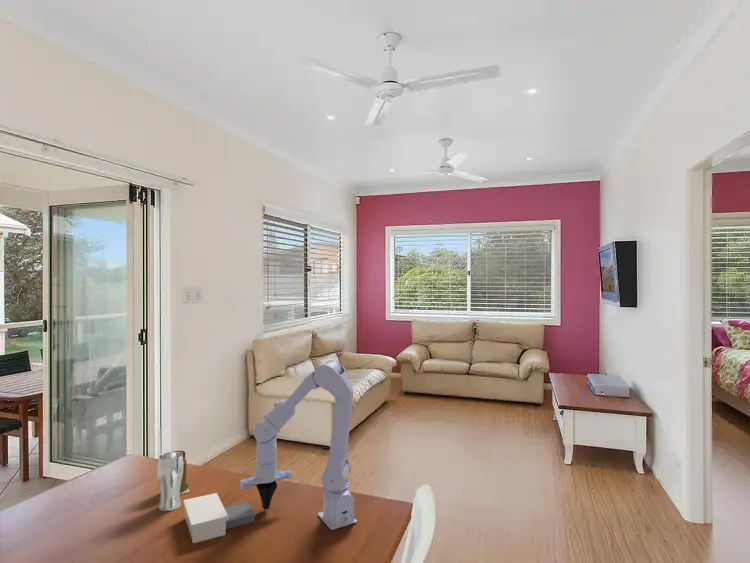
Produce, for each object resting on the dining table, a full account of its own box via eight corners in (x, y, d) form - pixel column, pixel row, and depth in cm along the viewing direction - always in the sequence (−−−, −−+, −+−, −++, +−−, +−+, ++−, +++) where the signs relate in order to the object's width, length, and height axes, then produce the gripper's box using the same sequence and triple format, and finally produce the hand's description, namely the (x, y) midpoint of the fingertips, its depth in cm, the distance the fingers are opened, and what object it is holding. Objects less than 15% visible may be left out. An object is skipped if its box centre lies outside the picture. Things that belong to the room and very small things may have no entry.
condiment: (164, 497, 136) (165, 458, 137) (163, 486, 144) (163, 449, 144) (189, 492, 140) (190, 454, 140) (187, 482, 147) (187, 445, 148)
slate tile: (254, 523, 123) (255, 514, 123) (201, 537, 116) (201, 527, 116) (247, 510, 130) (247, 502, 130) (196, 523, 123) (196, 514, 123)
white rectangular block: (227, 535, 116) (228, 516, 116) (191, 545, 112) (191, 525, 112) (216, 510, 129) (216, 492, 129) (183, 518, 124) (183, 500, 125)
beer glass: (164, 514, 126) (165, 462, 126) (152, 507, 130) (153, 456, 130) (187, 505, 132) (188, 454, 132) (175, 498, 136) (175, 449, 136)
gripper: (285, 451, 136) (285, 496, 136) (237, 460, 129) (237, 507, 129) (293, 459, 130) (293, 506, 130) (244, 469, 123) (243, 518, 123)
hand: (265, 507), depth 129 cm, fingers closed
